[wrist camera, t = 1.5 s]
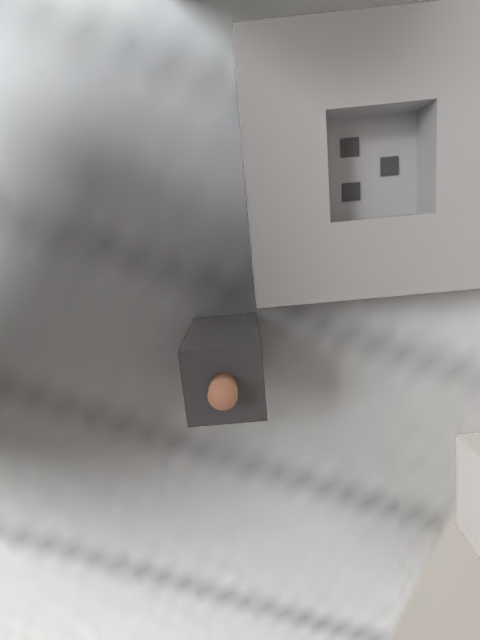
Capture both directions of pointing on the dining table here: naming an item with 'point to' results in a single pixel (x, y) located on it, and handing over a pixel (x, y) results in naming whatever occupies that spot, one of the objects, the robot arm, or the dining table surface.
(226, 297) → the dining table surface
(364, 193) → the socket plate
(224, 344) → the plug
